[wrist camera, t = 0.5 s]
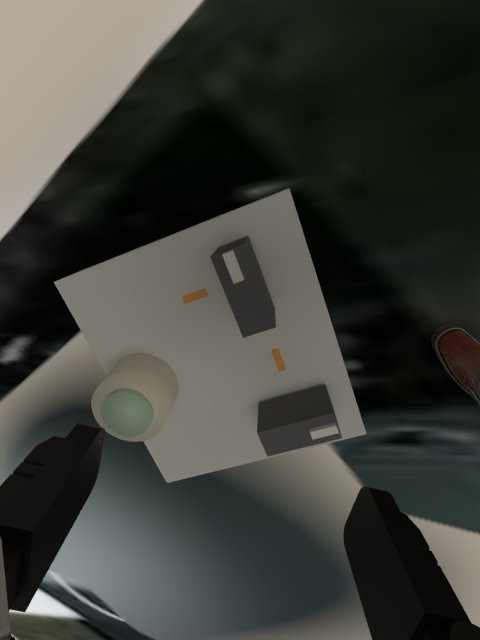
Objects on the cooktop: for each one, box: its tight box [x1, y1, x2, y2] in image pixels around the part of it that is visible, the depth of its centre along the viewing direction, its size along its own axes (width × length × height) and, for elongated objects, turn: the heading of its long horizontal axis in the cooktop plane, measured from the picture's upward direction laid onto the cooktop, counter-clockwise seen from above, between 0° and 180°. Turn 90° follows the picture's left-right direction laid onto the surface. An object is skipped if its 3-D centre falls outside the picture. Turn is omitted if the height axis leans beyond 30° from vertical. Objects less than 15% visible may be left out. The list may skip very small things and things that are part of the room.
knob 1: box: [210, 236, 276, 338], centre depth 25 cm, size 2×6×4 cm, turn 21°
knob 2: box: [257, 385, 342, 457], centre depth 29 cm, size 2×6×4 cm, turn 111°
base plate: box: [54, 189, 366, 483], centre depth 29 cm, size 20×22×7 cm
